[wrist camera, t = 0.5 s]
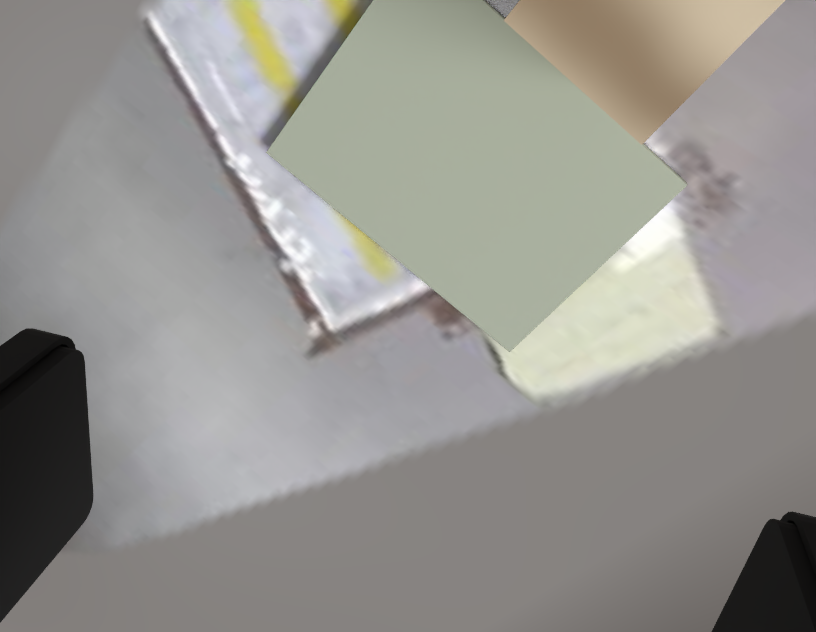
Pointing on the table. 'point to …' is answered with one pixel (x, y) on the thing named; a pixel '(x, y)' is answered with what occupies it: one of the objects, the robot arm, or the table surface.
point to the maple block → (638, 49)
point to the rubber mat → (472, 160)
